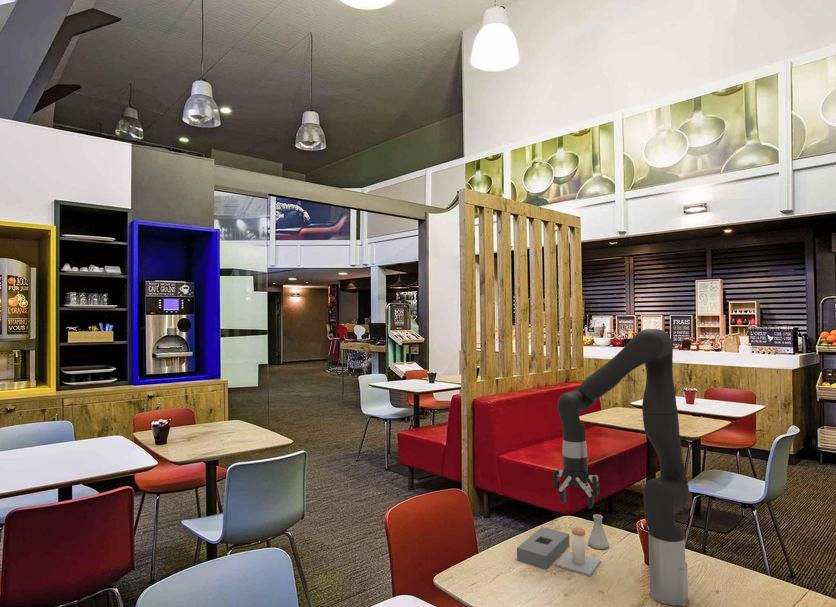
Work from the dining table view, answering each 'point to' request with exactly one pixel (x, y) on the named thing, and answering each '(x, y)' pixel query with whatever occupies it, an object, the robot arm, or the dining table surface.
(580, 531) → the plug
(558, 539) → the grey socket block
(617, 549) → the dining table surface
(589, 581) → the dining table surface
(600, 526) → the flask
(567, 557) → the mat
